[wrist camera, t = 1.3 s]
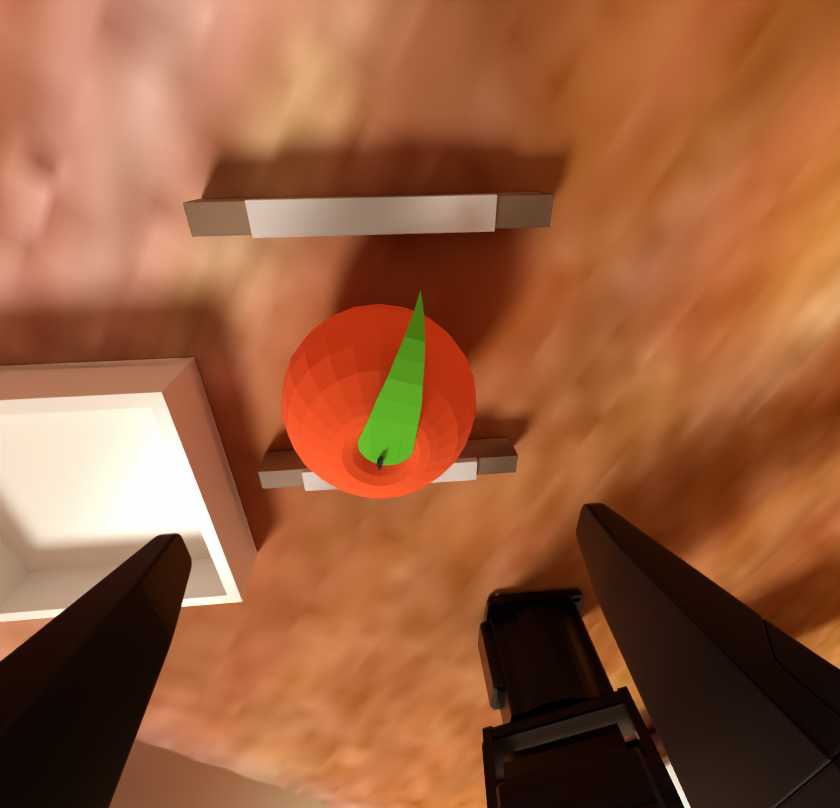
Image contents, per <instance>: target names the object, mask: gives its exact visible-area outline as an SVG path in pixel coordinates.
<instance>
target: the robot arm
mask: <svg viewBox="0 0 840 808" xmlns="http://www.w3.org/2000/svg"><path fill="white" fill-rule="evenodd" d="M576 534H577V539H578V542H579V545H580V548H581V551H582V554H583V558H584V561H585V564H586V567H587V570H588V573H589V576H590V579H591V582H592V585H593V588H594V591H595V594H596V596H597V599H598V602H599V604H600V607H601V609H602V611H603V614H604V616H605V618H606V620H607V623H608V625H609V627H610V629H611V632H612V634H613V636H614V638H615V640H616V643H617V645H618V647H619V649H620V652H621V654H622V656H623V658H624V660H625V663H626V665H627V667H628V669H629V671H630V674H631V676H632V678H633V680H634V683H635V685H636V687H637V689H638V691H639V694H640V696H641V698H642V700H643V703H644V705H645V707H646V709H647V711H648V714H649V716H650V718H651V720H652V722H653V725H654V727H655V729H656V731H657V734H658V736H659V738H660V740H661V742H662V745H663V747H664V749H665V751H666V754H667V756H668V758H669V760H670V762H671V765H672V767H673V769H674V771H675V774H676V776H677V778H678V780H679V782H680V785H681V787H682V789H683V791H684V793H685V796H686V798H687V800H688V802H689V805H690V807H691V808H840V669H838V668H837V667H835V666H834V665H832V664H831V663H829V662H828V661H826V660H825V659H823V658H821V657H820V656H819V655H817V654H816V653H814V652H813V651H811V650H810V649H808V648H807V647H805V646H804V645H803V644H801V643H800V642H798V641H797V640H795V639H794V638H792V637H791V636H789V635H788V634H787V633H785V632H784V631H782V630H781V629H780V628H778V627H777V626H775V625H774V624H772V623H771V622H770V621H768V620H767V619H763V618H762V616H761V615H760V614H758V613H757V612H755V611H754V610H752V609H751V608H750V607H748V606H747V605H745V604H744V603H743V602H741V601H740V600H738V599H737V598H736V597H734V596H733V595H731V594H730V593H729V592H727V591H726V590H724V589H723V588H721V587H720V586H719V585H717V584H716V583H714V582H713V581H712V580H710V579H709V578H707V577H706V576H705V575H703V574H702V573H700V572H699V571H698V570H696V569H695V568H693V567H692V566H690V565H689V564H688V563H686V562H685V561H683V560H682V559H681V558H679V557H678V556H676V555H675V554H674V553H672V552H671V551H669V550H668V549H666V548H665V547H664V546H662V545H661V544H659V543H658V542H657V541H655V540H654V539H652V538H651V537H650V536H648V535H647V534H645V533H644V532H643V531H641V530H640V529H638V528H637V527H635V526H634V525H633V524H631V523H630V522H628V521H627V520H626V519H624V518H623V517H621V516H620V515H619V514H617V513H616V512H614V511H613V510H611V509H610V508H609V507H607V506H606V505H604V504H602V503H589V504H584V505H583V506H582V509H581V512H580V516H579V520H578V524H577V529H576ZM191 568H192V559H191V556H190V554H189V551H188V549H187V547H186V545H185V542H184V540H183V538H182V536H181V535H180V534H178V533H169V534H160V535H157V536H156V537H154V538H153V539H152V540H150V541H149V542H148V543H147V544H145V545H144V546H143V547H142V548H140V549H139V550H138V551H137V552H136V553H134V554H133V555H132V556H131V557H129V558H128V559H127V560H126V561H124V562H123V563H122V564H121V565H119V566H118V567H117V568H116V569H114V570H113V571H112V572H111V573H109V574H108V575H107V576H106V577H105V578H103V579H102V580H101V581H100V582H98V583H97V584H96V585H95V586H93V587H92V588H91V589H90V590H88V591H87V592H86V593H85V594H83V595H82V596H81V597H80V598H78V599H77V600H76V601H75V602H74V603H72V604H71V605H70V606H69V607H67V608H66V609H65V610H64V611H62V612H61V613H60V614H59V615H57V616H56V617H55V618H54V619H52V620H51V621H50V622H49V623H47V624H46V625H45V626H44V627H42V628H41V629H40V630H39V631H38V632H36V633H35V634H34V635H33V636H31V637H30V638H29V639H28V640H26V641H25V642H24V643H23V644H21V645H20V646H19V647H18V648H16V649H15V650H14V651H13V652H11V653H10V654H9V655H8V656H7V657H5V658H4V659H3V660H2V661H0V808H109V807H110V804H111V801H112V798H113V796H114V793H115V791H116V788H117V785H118V783H119V780H120V777H121V775H122V772H123V769H124V767H125V764H126V761H127V759H128V756H129V753H130V751H131V748H132V746H133V743H134V740H135V738H136V735H137V732H138V730H139V727H140V724H141V722H142V719H143V717H144V714H145V711H146V709H147V706H148V703H149V701H150V698H151V695H152V693H153V690H154V687H155V685H156V682H157V679H158V677H159V674H160V671H161V669H162V666H163V664H164V661H165V658H166V656H167V653H168V650H169V647H170V645H171V642H172V639H173V635H174V632H175V629H176V625H177V621H178V617H179V613H180V610H181V606H182V602H183V598H184V595H185V591H186V587H187V583H188V579H189V576H190V572H191ZM583 601H584V596H583V594H582V592H581V591H580V590H567V591H555V592H543V593H532V594H520V595H508V596H496V597H491V598H489V599H488V600H487V603H486V612H485V621H484V622H482V623H481V625H480V630H479V640H478V647H479V652H480V657H481V662H482V667H483V672H484V677H485V682H486V687H487V692H488V697H489V702H490V706H491V707H492V708H493V709H494V710H498V709H500V711H501V716H502V721H503V725H499V726H496V727H492V726H489V727H485V728H483V743H482V751H483V762H484V774H485V786H486V798H487V808H684V806H683V804H682V801H681V799H680V797H679V795H678V793H677V790H676V788H675V786H674V784H673V782H672V780H671V778H670V776H669V773H668V771H667V769H666V767H665V765H664V763H663V761H662V759H661V757H660V755H659V753H658V751H657V748H656V746H655V744H654V742H653V740H652V738H651V736H650V734H649V732H648V730H647V728H646V726H645V724H644V722H643V719H642V717H641V715H640V713H639V711H638V709H637V707H636V705H635V703H634V701H633V699H632V697H631V695H630V693H629V691H628V688H627V686H625V687H622V688H618V689H617V690H618V691H615V692H614V690H613V688H612V686H611V684H610V681H609V679H608V677H607V674H606V672H605V670H604V668H603V665H602V663H601V661H600V658H599V656H598V654H597V652H596V649H595V647H594V645H593V642H592V640H591V638H590V636H589V633H588V631H587V629H586V626H585V624H584V622H583V620H582V617H581V615H580V611H581V608H582V604H583ZM631 734H636V736H637V738H638V739H635V740H632V741H628V742H625V740H624V736H628V735H631Z"/></svg>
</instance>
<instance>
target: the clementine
mask: <svg viewBox="0 0 840 808" xmlns="http://www.w3.org/2000/svg"><path fill="white" fill-rule="evenodd" d="M475 415H476V395H475V385H474V378H473V375H472V372H471V370H470V367H469V364H468V361H467V358H466V356H465V355H464V354H463V352H462V351H461V349H460V348H459V347H458V345H457V344H456V343H455V341H454V340H453V338H452V337H451V336H450V335H449V334H448V333H447V331H445V330H444V329H443V328H442V327H440V326H439V325H438V324H436V323H435V322H434V321H433V320H431V319H430V318H429V317H427V316H425V315H424V310H423V302H422V294H421V290H420V293H419V296H418V300H417V303H416V306H415V310H414V311H413V310H410V309H408V308H406V307H400V306H393V305H386V304H373V305H365V306H356V307H352V308H350V309H347V310H345V311H342V312H340V313H337V314H335V315H332V316H331V317H329V318H328V319H327V320H325V321H324V322H323V323H321V324H320V325H319V326H317V327H316V328H315V329H314V330H312V331H311V332H310V333H309V335H308V336H307V337H306V338H305V339H304V341H303V342H302V343H301V345H300V346H299V348H298V349H297V350H296V352H295V353H294V354H293V356H292V357H291V360H290V363H289V366H288V369H287V372H286V375H285V378H284V383H283V390H282V417H283V420H284V423H285V426H286V429H287V433H288V436H289V438H290V441H291V443H292V445H293V448H294V449H295V451H296V452H297V454H298V455H299V457H300V458H301V460H302V461H303V463H304V464H305V465H306V466H307V467H308V468H309V469H310V470H311V471H313V472H314V473H315V474H316V475H317V476H318V477H319V478H321V479H322V480H324V481H325V482H327V483H329V484H330V485H332V486H334V487H336V488H338V489H340V490H342V491H344V492H346V493H350V494H353V495H357V496H361V497H368V498H389V497H397V496H402V495H405V494H408V493H411V492H414V491H417V490H419V489H421V488H422V487H424V486H426V485H427V484H429V483H431V482H432V481H434V480H435V479H437V478H438V477H440V476H441V475H442V474H443V473H444V472H445V471H446V470H447V469H448V468H449V467H451V466H452V465H453V464H454V463H455V462H456V460H457V458H458V457H459V455H460V454H461V452H462V450H463V449H464V447H465V445H466V443H467V441H468V438H469V436H470V433H471V429H472V426H473V422H474V418H475Z"/></svg>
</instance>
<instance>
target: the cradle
mask: <svg viewBox="0 0 840 808" xmlns="http://www.w3.org/2000/svg"><path fill="white" fill-rule="evenodd" d="M553 198H554V195H553V194H548V193H543V192H500V193H452V194H404V195H356V196H308V197H259V198H211V199H197V200H193V201H188V202H184V203H183V206H184V209H185V213H186V216H187V220H188V223H189V227H190V231H191V234H192V237H194V236H231V235H252V238H271V237H308V236H345V235H382V234H419V233H457V232H494V231H495V229H496V228H534V227H550V219H551V212H552V205H553ZM517 458H518V455H517V453H516V451H515V449H514V446H513V444H512V442H511V440H510V438H509V437H506V438H489V439H473V440H468V441H467V443H466V445H465V447H464V449H463V450H462V452H461V454H460V455H459V457H458V458H457V460H456V462H455V463H454V464H453V465H452V466H451V467H449V468H448V469H447V470H446V471H445V472H444V473H443V474H442V475H441V476H440V477H438V478H437V479H435V480H434V481H432V482H431V483H434V482H450V481H465V480H476V475H479V474H495V473H510V472H516V465H517ZM258 474H259V477H260V481H261V485H262V488H263V489H265V488H280V487H296V486H304V487H305V491H314V490H329V489H338V488H336V487H334V486H332V485H330V484H329V483H327V482H325V481H324V480H322V479H321V478H319V477H318V476H317V475H316V474H315V473H314V472H313V471H311V470H310V469H309V468H308V467H307V466H306V465H305V464H304V463H303V461H302V460H301V458H300V457H299V455H298V454H297V452H296V451H295V450H288V451H272V452H266V453H265V455H264V458H263V461H262V463H261V466H260V468H259V471H258Z"/></svg>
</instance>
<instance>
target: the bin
mask: <svg viewBox="0 0 840 808" xmlns="http://www.w3.org/2000/svg"><path fill="white" fill-rule="evenodd" d="M169 533H178V534H180V535H181V536H182V538H183V540H184V542H185V545H186V547H187V549H188V551H189V554H190V556H191V559H192V568H191V572H190V576H189V579H188V583H187V587H186V591H185V595H184V598H183V602H182V606H181V607H184V606H197V605H209V604H221V603H233V602H243V598H244V595H245V592H246V589H247V585H248V582H249V579H250V576H251V573H252V569H253V566H254V563H255V560H256V557H257V550H256V547H255V544H254V541H253V537H252V534H251V531H250V528H249V525H248V522H247V519H246V516H245V513H244V510H243V506H242V503H241V500H240V497H239V494H238V491H237V488H236V485H235V482H234V479H233V475H232V472H231V469H230V466H229V463H228V460H227V457H226V454H225V451H224V448H223V444H222V441H221V438H220V435H219V432H218V429H217V426H216V423H215V420H214V417H213V413H212V410H211V407H210V404H209V401H208V398H207V395H206V392H205V389H204V386H203V383H202V379H201V376H200V373H199V370H198V367H197V364H196V361H195V358H194V357H188V358H165V359H143V360H121V361H98V362H76V363H54V364H31V365H9V366H0V622H2V621H14V620H27V619H39V618H51V617H56V616H57V615H59V614H60V613H61V612H62V611H64V610H65V609H66V608H67V607H69V606H70V605H71V604H72V603H74V602H75V601H76V600H77V599H78V598H80V597H81V596H82V595H83V594H85V593H86V592H87V591H88V590H90V589H91V588H92V587H93V586H95V585H96V584H97V583H98V582H100V581H101V580H102V579H103V578H105V577H106V576H107V575H108V574H109V573H111V572H112V571H113V570H114V569H116V568H117V567H118V566H119V565H121V564H122V563H123V562H124V561H126V560H127V559H128V558H129V557H131V556H132V555H133V554H134V553H136V552H137V551H138V550H139V549H140V548H142V547H143V546H144V545H145V544H147V543H148V542H149V541H150V540H152V539H153V538H154V537H156V536H157V535H160V534H169Z"/></svg>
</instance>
